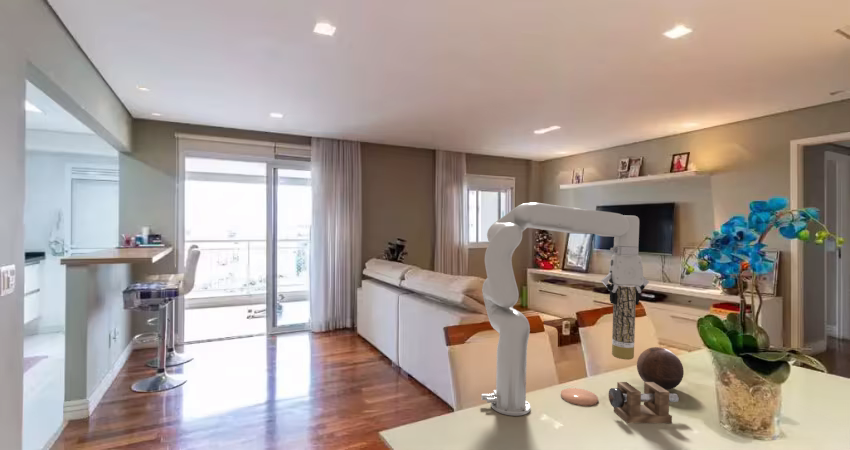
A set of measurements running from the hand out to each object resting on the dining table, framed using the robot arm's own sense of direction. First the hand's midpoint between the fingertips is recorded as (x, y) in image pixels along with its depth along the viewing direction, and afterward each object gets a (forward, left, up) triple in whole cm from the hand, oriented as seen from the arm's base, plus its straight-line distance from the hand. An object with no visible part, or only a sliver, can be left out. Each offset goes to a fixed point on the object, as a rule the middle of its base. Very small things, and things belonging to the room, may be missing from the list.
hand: (624, 303), depth 140 cm
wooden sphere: (+20, +11, -34) cm, 41 cm away
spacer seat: (-14, +3, -33) cm, 36 cm away
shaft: (+1, -11, -30) cm, 32 cm away
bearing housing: (0, -11, -33) cm, 35 cm away
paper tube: (0, 0, -18) cm, 18 cm away
